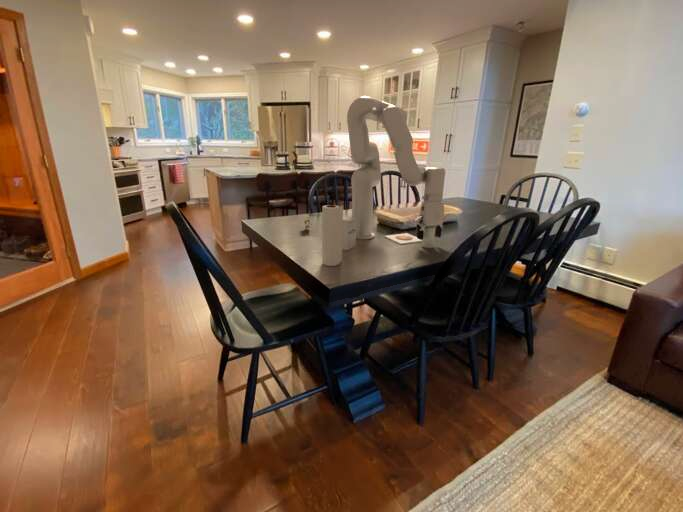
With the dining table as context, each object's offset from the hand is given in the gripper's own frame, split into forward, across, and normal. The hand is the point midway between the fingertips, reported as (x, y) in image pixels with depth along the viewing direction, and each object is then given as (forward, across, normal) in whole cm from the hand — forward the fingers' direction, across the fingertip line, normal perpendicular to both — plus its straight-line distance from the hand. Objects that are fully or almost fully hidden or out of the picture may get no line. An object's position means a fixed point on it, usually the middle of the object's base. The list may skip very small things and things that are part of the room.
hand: (428, 237), depth 142 cm
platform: (+4, -39, +43) cm, 59 cm away
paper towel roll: (+4, -47, -3) cm, 47 cm away
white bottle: (+4, -34, +13) cm, 37 cm away
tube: (+4, 0, 0) cm, 4 cm away
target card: (+4, -3, +13) cm, 14 cm away
